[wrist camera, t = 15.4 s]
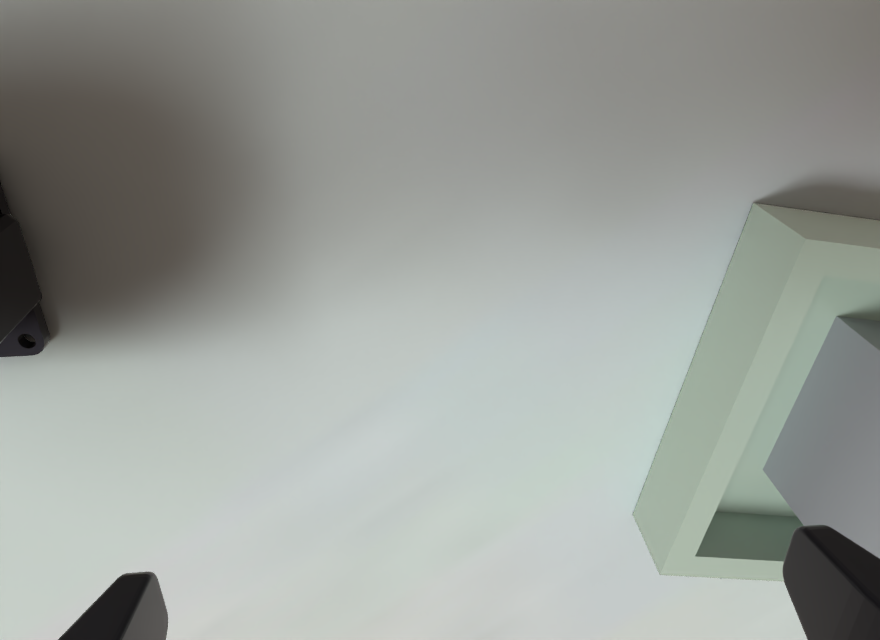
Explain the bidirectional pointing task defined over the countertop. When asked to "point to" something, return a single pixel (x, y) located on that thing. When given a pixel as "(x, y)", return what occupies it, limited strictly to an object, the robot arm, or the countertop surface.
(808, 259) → the tray
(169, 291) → the countertop surface
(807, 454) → the grey rectangular block
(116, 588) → the robot arm
